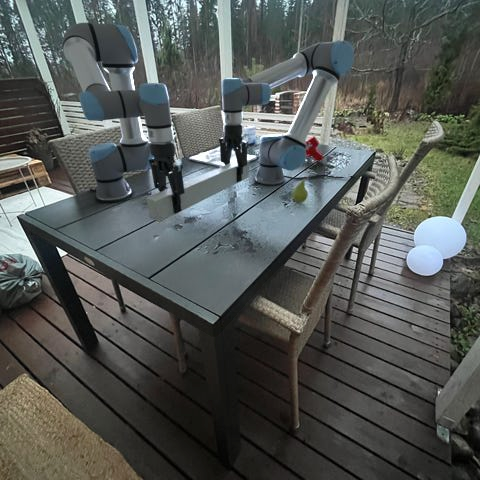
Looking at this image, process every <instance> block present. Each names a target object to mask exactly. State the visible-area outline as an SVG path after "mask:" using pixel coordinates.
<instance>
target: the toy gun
mask: <svg viewBox="0 0 480 480" xmlns="http://www.w3.org/2000/svg"><path fill="white" fill-rule="evenodd" d="M305 141H306V147H305V150H306V159H308V158H309V157H312V158H313V159H314V160H315V161H316V163H319V162H321V161H323V158H324V154H323V153H321V152H320V151H319V150H318V149H317V147H319V144H320V141H319V140H318V138H317V137H316V136H315V135H313V136H312V137H310V138H309V139H306V140H305ZM317 160H319V162H318V161H317ZM320 160H321V161H320Z"/></svg>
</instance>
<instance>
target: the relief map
mask: <svg viewBox="0 0 480 480" xmlns="http://www.w3.org/2000/svg"><path fill="white" fill-rule="evenodd" d="M188 159H189V161H193V162H198V163H203V164H207V165H211V166H215V167H218V168H220V167H222V166H225V164H224V163H223V162H221V154H220V146H218V147H215V148H214V149H210V150H208V151H205V152H200V153H198V154H196V155H193V156H190V157H188ZM257 159H258V157H257V156H256V155H253V154H252V155H251V154H247V161H249V163H250V162H252V161H255V160H257ZM235 161H237V159H236V154H235V151H234V150H232V152H231V158H230V162H231V163H232V162H235ZM229 164H230V163H229Z"/></svg>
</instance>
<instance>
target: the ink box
mask: <svg viewBox="0 0 480 480" xmlns="http://www.w3.org/2000/svg"><path fill="white" fill-rule="evenodd" d="M256 129H257V127H256V126H253V125H251V126H245V127H243V141H245V142H248V145H251V144H254V143H256Z"/></svg>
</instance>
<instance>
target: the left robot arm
mask: <svg viewBox="0 0 480 480" xmlns="http://www.w3.org/2000/svg"><path fill="white" fill-rule="evenodd" d="M61 48H62V52H63V55H64V57H65V59H66V60H67V62H68V63H69V64H70V65H71V66H72V68H73V70H74V73H75V75H76V78H77V80H78V83H79V85H80V88H81V90H82V91H81V92H79V93H78V99H79V103H80V107H81V110H82V113H83V117H84V118H85V119H86V121H89V122H94V121H95V122H97V121H98V122H103V121H109V120H118V122H119V126H120V131H121V136H122V137H121V139H120V140H119V143H120V145H117V144H116V143H114V142H104V143H100V144H97V145H94V146H92V147H91V148H89V150H88V152H87V154H88V158H89V162H90V164H91V168H92V171H93V175H94V179H95V181H96V189H93V188H89V189H88V190H89V191H92V192H96V193H95V196H96V199H97V201H98V202H101V203H106V204H107V203H117V202H122V201H125V200H128V199H129V198H130V197H131V196H132V195H133V193H132V189H131V187H130V185H129V183H128V182H127V181H126V178H125V177H124V173H129V172H136V171H141V170H143V171H144V170H147V169H150V170H151V175H152V181H153V186H154V189H158V192H161V191H164V190H166V189H169V188H168V186H167V180H168V184H169V187H170V188H171V190H172V193H173V195H171V196H172V202H173V209H174V213H175V215H176V213H177V214H179V213H181V212H182V211H181V198H180V195H182V194H184V193H185V192H184V184H183V182H184V177H183V168H184V167H183V165H182V164H181V163H180V164H178V163H177V161H176V159H175V154H176V145H175V142H174V140H175V136H174V129H173V124H172V123H173V122H172V114H171V107H170V96H169V93H168V87H167V86H166V84H165V83H162V82H160V83H159V82H147V83H141V84H139V86H138V88H137V89H135V84H134V78H133V72H134V70H135V68H136V67H135V64H136V63H137V62H138V61H139V57H138V50H137V45H136V43H135V39H134V37H133V35H132V33H131V31H130V29H129V28H128V27H127V26H126V25H122V24H116V23H96V22H95V23H94V22H78V23H76V24H73V25H71V26H70V27H69V28H68V29H67V30H66V31H65V33H64V34H63V36H62V39H61ZM99 63H101V65H102V69H103V70H105V72H107V73H108V77H109V82H110V85H111V89H110V87H109V85H108V82H107V81H106V79H105V78H106V77H105V76H104V73H103V72H102V70H101V68H100V65H99ZM143 117H144V122H145V128H146V131H147V132H146V133H147V137H146V136H145V135H144V133H143V132H144V131H143V127H142V122H141V118H143ZM180 211H181V212H180ZM178 212H179V213H178Z"/></svg>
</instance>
